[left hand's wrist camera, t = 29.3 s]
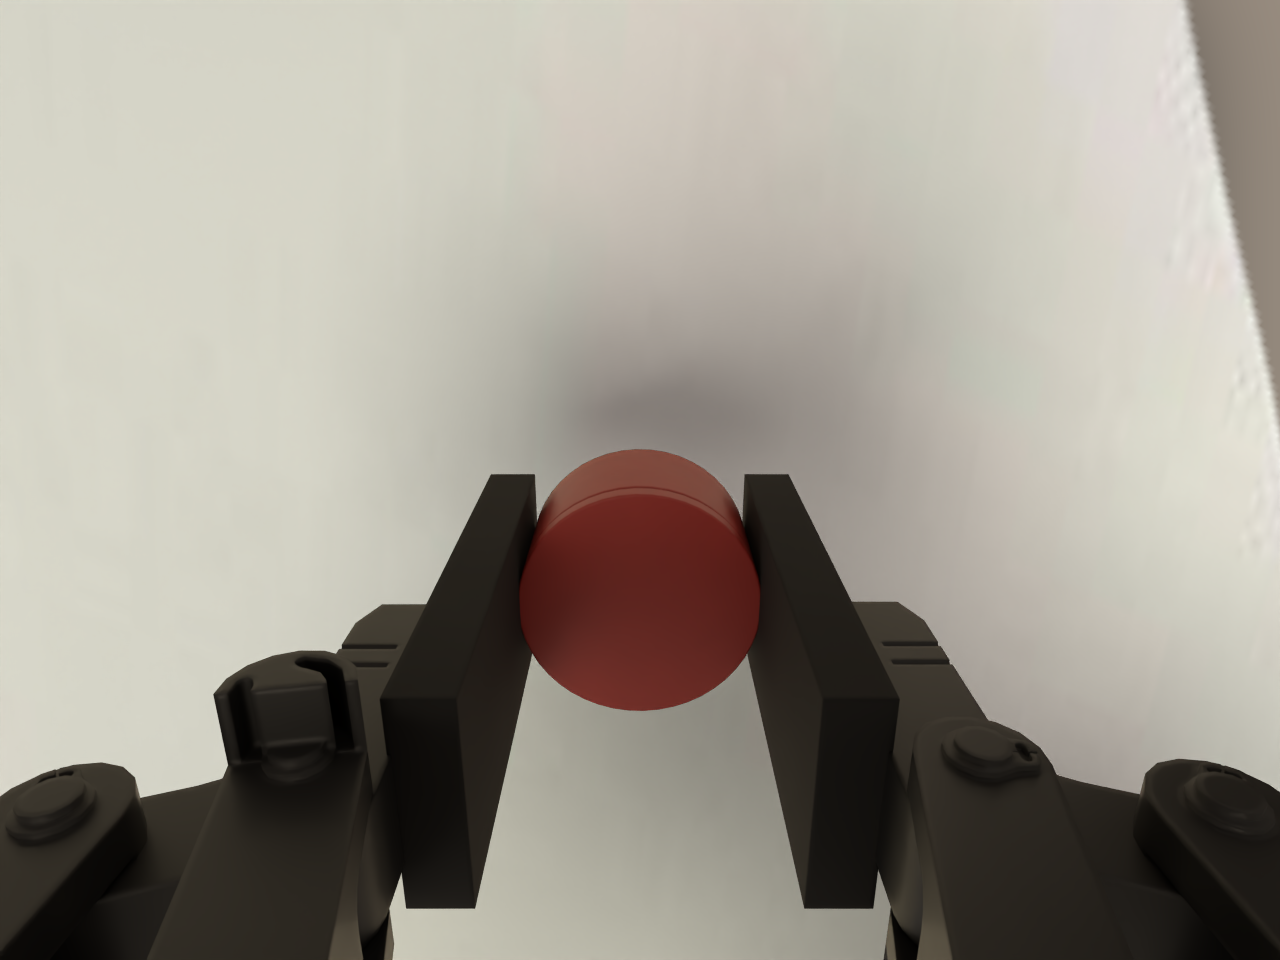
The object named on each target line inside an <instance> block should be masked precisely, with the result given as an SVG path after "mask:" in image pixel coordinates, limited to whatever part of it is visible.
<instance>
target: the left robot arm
mask: <svg viewBox="0 0 1280 960" xmlns="http://www.w3.org/2000/svg"><path fill="white" fill-rule="evenodd" d="M742 522H743V526H744V529H745V533H746V536H747V539H748V543H749V546H750V549H751V553H752V556H753V559H754V563H755V566H756V569H757V573H758V576H759V581H760V607H759V623H758V631H757V634H756V636H755V639H754V641H753V644H752V646H751V647H750V649H749V651H748V653H747V655H748V659H749V664H750V668H751V673H752V677H753V681H754V686H755V690H756V695H757V699H758V704H759V708H760V713H761V717H762V722H763V726H764V730H765V735H766V739H767V744H768V748H769V753H770V757H771V762H772V766H773V771H774V775H775V780H776V784H777V788H778V793H779V797H780V802H781V806H782V811H783V815H784V820H785V824H786V829H787V833H788V837H789V842H790V846H791V851H792V855H793V860H794V864H795V869H796V873H797V878H798V882H799V887H800V891H801V895H802V900H803V904H804V909H873V906H874V898H875V890H876V882H877V875H878V870H879V873H880V876H881V879H882V882H883V885H884V888H885V891H886V893H887V896H888V899H889V902H890V905H891V910H890V918H889V925H888V932H887V939H886V947H885V954H884V960H1280V792H1279V791H1277V790H1276V789H1274V788H1273V787H1272V786H1270V785H1269V784H1267V783H1264V782H1262V781H1260V780H1258V779H1256V778H1254V777H1252V776H1250V775H1247V774H1245V773H1243V772H1242V771H1240V770H1237V769H1234V768H1231V767H1228V766H1222V765H1221V764H1216V763H1211V762H1208V761H1198V760H1187V759H1175V760H1170V761H1165V762H1160V763H1157V764H1156V765H1155V766H1154V767H1152V768H1151V769H1150V770H1149V771H1148V772H1147V773H1146V774H1145V777H1144V781H1143V785H1142V789H1141V793H1140V794H1135V793H1130V792H1126V791H1121V790H1116V789H1112V788H1107V787H1102V786H1097V785H1093V784H1088V783H1083V782H1080V781H1076V780H1072V779H1069V778H1065V777H1062V776H1059V775H1056V773H1055V770H1054V768H1053V766H1052V764H1051V762H1050V761H1049V760H1048V758H1047V757H1046V755H1045V754H1044V753H1043V751H1042V750H1041V748H1040V747H1038V746H1037V745H1036V744H1034V743H1033V742H1032V741H1030V740H1029V739H1028V738H1026V737H1025V736H1023V735H1022V734H1021V733H1019V732H1017V731H1015V730H1012V729H1010V728H1008V727H1005V726H1003V725H1001V724H998V723H996V722H992V721H988V720H987V718H986V716H985V715H984V713H983V712H982V710H981V709H980V707H979V705H978V704H977V702H976V701H975V699H974V698H973V696H972V694H971V693H970V691H969V690H968V688H967V687H966V685H965V684H964V682H963V680H962V679H961V677H960V676H959V674H958V673H957V671H956V669H955V668H954V666H953V665H950V663H949V659H948V657H947V655H946V654H945V652H944V651H943V649H942V648H941V646H938V641H937V640H936V638H935V637H934V635H933V634H932V632H931V630H930V629H929V627H928V626H927V624H926V623H925V621H924V620H923V619H921V618H920V617H919V616H917V615H916V614H914V613H913V612H911V611H910V610H908V609H907V608H906V607H904V606H903V605H901V604H900V603H898V602H852V601H851V599H850V597H849V595H848V593H847V591H846V589H845V587H844V585H843V583H842V581H841V579H840V577H839V575H838V573H837V571H836V569H835V567H834V565H833V563H832V561H831V559H830V557H829V555H828V553H827V551H826V549H825V547H824V545H823V543H822V541H821V539H820V537H819V535H818V533H817V531H816V529H815V527H814V525H813V523H812V521H811V519H810V517H809V515H808V513H807V511H806V509H805V507H804V505H803V503H802V501H801V499H800V497H799V495H798V493H797V491H796V489H795V487H794V485H793V483H792V481H791V479H790V477H789V475H788V474H745V478H744V499H743V521H742ZM536 525H537V511H536V490H535V474H491V476H490V478H489V480H488V482H487V484H486V486H485V488H484V490H483V492H482V494H481V496H480V498H479V500H478V502H477V504H476V506H475V508H474V510H473V512H472V514H471V516H470V518H469V520H468V522H467V524H466V526H465V528H464V530H463V532H462V534H461V536H460V538H459V540H458V542H457V544H456V546H455V548H454V550H453V552H452V554H451V556H450V558H449V560H448V562H447V564H446V566H445V568H444V570H443V572H442V574H441V576H440V578H439V580H438V582H437V584H436V586H435V588H434V590H433V592H432V594H431V596H430V598H429V600H428V602H427V604H382V605H381V606H379V607H378V608H376V609H375V610H374V611H372V612H371V613H369V614H368V615H366V616H365V617H364V618H362V619H361V620H359V621H358V622H357V623H355V625H354V627H353V628H352V630H351V631H350V633H349V634H348V636H347V638H346V639H345V641H344V642H343V644H342V649H339V650H338V652H337V653H336V654H334V653H331V652H327V651H296V652H291V653H285V654H280V655H274V656H271V657H269V658H266V659H263V660H261V661H258V662H255V663H253V664H250V665H247V666H246V667H244V668H243V669H241V670H240V671H238V672H236V673H235V674H233V675H232V676H230V677H228V678H227V679H226V680H225V681H224V682H223V683H222V685H221V686H220V687H219V688H218V689H217V691H216V692H215V693H214V694H213V695H214V700H215V704H216V709H217V714H218V719H219V724H220V728H221V733H222V738H223V743H224V747H225V752H226V757H227V762H228V767H227V769H226V772H225V774H224V777H223V778H222V779H220V780H216V781H213V782H209V783H206V784H202V785H199V786H194V787H190V788H185V789H180V790H176V791H171V792H166V793H162V794H157V795H152V796H147V797H143V798H140V796H139V792H138V788H137V784H136V780H135V777H134V776H133V775H131V774H130V773H129V772H128V771H127V770H126V769H125V768H124V767H121V766H116V765H111V764H106V763H90V764H79V765H72V766H68V767H63V768H60V769H58V770H56V769H55V770H52V771H49V772H46V773H43V774H41V775H38V776H37V777H35V778H33V779H31V780H28V781H26V782H24V783H22V784H20V785H18V786H16V787H14V788H12V789H10V790H9V791H7V792H6V793H4V794H3V795H2V796H0V960H392V959H393V949H394V939H393V932H392V925H391V918H390V910H389V908H390V905H391V902H392V899H393V896H394V893H395V890H396V887H397V884H398V881H399V878H400V875H401V873H402V879H403V887H404V895H405V902H406V909H471V908H475V906H476V902H477V897H478V893H479V889H480V884H481V880H482V875H483V871H484V866H485V862H486V857H487V853H488V848H489V844H490V839H491V835H492V831H493V826H494V822H495V817H496V813H497V808H498V804H499V799H500V795H501V790H502V786H503V782H504V777H505V773H506V768H507V764H508V759H509V755H510V750H511V746H512V741H513V737H514V733H515V728H516V724H517V719H518V715H519V710H520V706H521V701H522V697H523V692H524V688H525V684H526V679H527V675H528V670H529V666H530V661H531V657H532V652H531V650H530V648H529V646H528V644H527V642H526V640H525V638H524V635H523V632H522V628H521V617H520V599H519V583H520V579H521V576H522V572H523V569H524V565H525V562H526V558H527V555H528V552H529V548H530V545H531V542H532V538H533V535H534V531H535V528H536Z"/></svg>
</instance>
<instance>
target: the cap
mask: <svg viewBox="0 0 1280 960" xmlns="http://www.w3.org/2000/svg"><path fill="white" fill-rule="evenodd" d="M519 599H520V617H521V628H522V632H523V635H524V638H525V640H526V642H527V644H528V646H529V648H530V650H531V652H532V654H533V655H534V657H535V658H536V660H537V661H538V663H539V664H540V665H541V666H542V667H543V669H544V670H545V671H546V672H547V673H548V674H549V675H550V676H551V677H552V678H553V679H554V680H555V681H557V682H558V683H559V684H560V685H562V686H563V687H565V688H566V689H567V690H569V691H570V692H572V693H574V694H576V695H578V696H580V697H582V698H583V699H586V700H588V701H591V702H593V703H596V704H599V705H603V706H607V707H610V708H615V709H622V710H634V711H647V710H659V709H664V708H669V707H674V706H677V705H680V704H683V703H686V702H689V701H691V700H693V699H696V698H698V697H700V696H702V695H704V694H705V693H707V692H709V691H710V690H712V689H714V688H715V687H716V686H718V685H719V684H720V683H722V682H723V681H724V680H725V679H726V678H727V677H728V676H729V675H730V674H731V673H732V672H733V671H734V670H735V669H736V668H737V667H738V666H739V664H740V663H741V662H742V660H743V659H744V658H745V656H746V654H747V653H748V651H749V649H750V647H751V646H752V644H753V641H754V639H755V636H756V634H757V631H758V623H759V607H760V581H759V576H758V573H757V569H756V566H755V563H754V559H753V556H752V553H751V549H750V546H749V543H748V539H747V536H746V533H745V529H744V526H743V522H742V520H741V517H740V514H739V511H738V509H737V507H736V505H735V503H734V501H733V499H732V498H731V496H730V495H729V494H728V492H727V491H726V489H725V488H724V487H723V486H722V485H721V484H720V483H719V482H718V481H717V479H716V478H715V477H713V476H712V475H711V474H710V473H708V472H707V471H706V470H705V469H703V468H701V467H700V466H698V465H696V464H695V463H693V462H691V461H689V460H687V459H684V458H682V457H680V456H677V455H673V454H670V453H667V452H662V451H655V450H642V449H634V450H623V451H618V452H613V453H609V454H606V455H603V456H600V457H597V458H595V459H593V460H591V461H589V462H587V463H585V464H583V465H581V466H580V467H578V468H577V469H575V470H574V471H572V472H571V473H570V474H569V475H567V476H566V477H565V478H564V479H563V480H562V481H561V482H560V483H559V484H558V485H557V486H556V488H555V489H554V490H553V491H552V492H551V494H550V496H549V497H548V499H547V500H546V502H545V504H544V506H543V508H542V510H541V513H540V515H539V518H538V521H537V525H536V528H535V531H534V535H533V538H532V542H531V545H530V548H529V552H528V555H527V558H526V562H525V565H524V569H523V572H522V576H521V579H520V583H519Z"/></svg>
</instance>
